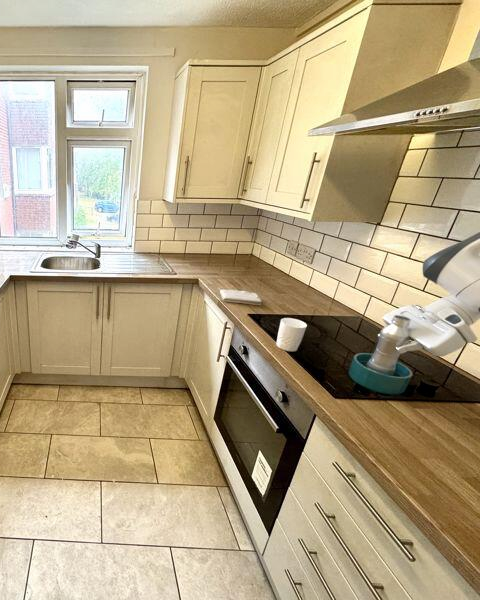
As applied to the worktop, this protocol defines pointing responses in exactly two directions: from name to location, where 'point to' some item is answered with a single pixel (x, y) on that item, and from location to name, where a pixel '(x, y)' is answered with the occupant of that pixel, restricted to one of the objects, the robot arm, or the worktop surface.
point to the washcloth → (240, 297)
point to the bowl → (379, 376)
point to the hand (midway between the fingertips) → (388, 344)
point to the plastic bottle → (390, 346)
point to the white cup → (290, 334)
